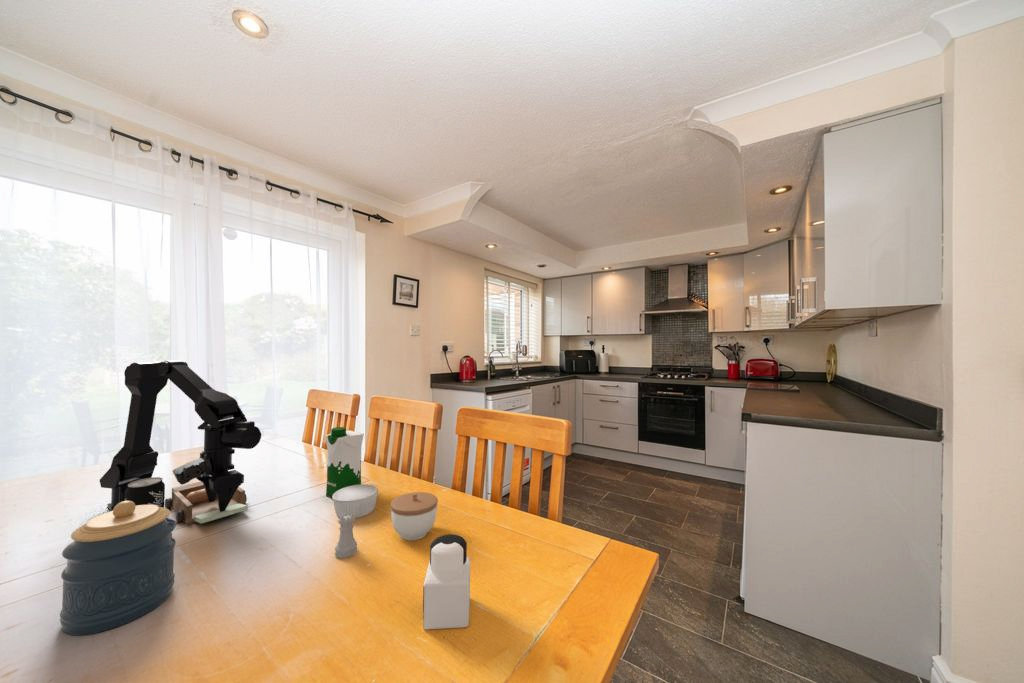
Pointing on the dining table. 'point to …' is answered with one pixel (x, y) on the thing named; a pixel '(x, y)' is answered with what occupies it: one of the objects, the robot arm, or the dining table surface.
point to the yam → (197, 496)
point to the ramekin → (355, 500)
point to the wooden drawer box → (188, 510)
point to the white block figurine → (447, 584)
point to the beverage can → (146, 492)
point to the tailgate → (220, 513)
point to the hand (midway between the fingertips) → (216, 506)
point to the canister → (117, 568)
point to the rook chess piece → (346, 537)
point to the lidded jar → (414, 514)
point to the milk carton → (343, 459)
